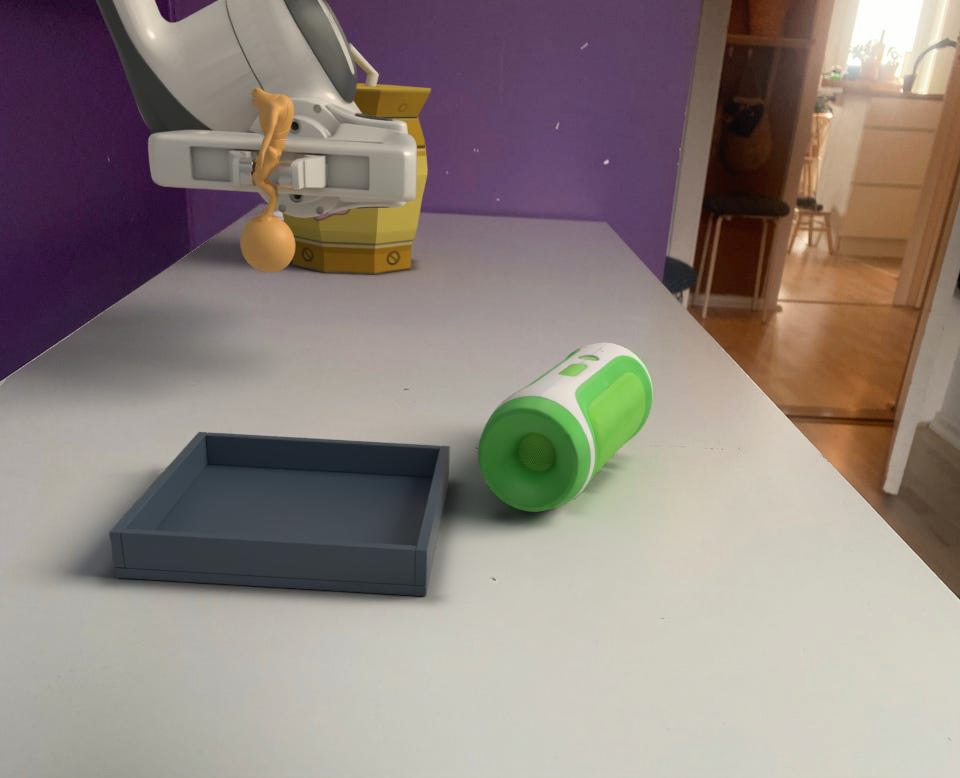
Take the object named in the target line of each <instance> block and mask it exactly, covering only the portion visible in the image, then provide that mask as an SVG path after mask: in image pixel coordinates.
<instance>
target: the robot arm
mask: <svg viewBox="0 0 960 778" xmlns="http://www.w3.org/2000/svg"><path fill="white" fill-rule="evenodd" d="M95 2H96V5H97V6H98V9H99V11H100V13H101V16H102V18H103V20H104V22H105V25H106V27H107V29H108V31H109V34H110V36H111V38H112V41H113V43H114V47H115V48H116V50H117V54H118V56H119V58H120V59H119V60H120V62H121V65H122V67H123V70H124V73H125V77H126V79H127V82H128V86H129V88H130V91H131V93H132V96H133V99H134V100H135V104H136V106H137V108H138V111H139V113H140V115H141V118H142V120H143V121H144V123H145V126H147V128H148V130H149V131H150V133H151V134H150V135H149V137H148V142H147V151H148V162H149V163H148V164H149V170H150V176H151V180H152V181H153V183H154V184H156V185H158V186H160V187H165V188H177V189H178V188H180V189H194V190H213V191H229V192H231V191H232V192H247V193H258V194H259V195H260V196H261V198H262V199H263V200H264V201H265V202H266V203H267V204H268V203H269V200H270V196H269V195H267V194H266V193H264V192H263V191H262V190H261V189H260V188H259V187H258V186H257V185H256V184H255V183H254V181H253V178H252V175H253V173H254V171H255V170H256V169H255V165H256V162H257V161H256V162H255V159H256V157H257V156H258V155H259V152H260V149H261V144H262V141H263V138H264V134H263V132H262V129H261V127H260V123H259V109H258V108H257V107H256V106H254V105H253V104H252V102H251V100H252V99H256V97H255V98H254V97H253V96H252V95H251V93H252V91H253V89H254V88H260V89H262V90H264V91H265V92H267V93H270V94H280V95H281V94H284V95H286V96H288V97H289V98H290V99H291V101H292V102H293V105H294V117H293V121H292V124H291V128H290V131H289V133H288V135H287V137H286V138H285V139H286V141H285V148H284V150H283V151H282V153H281V156H280V159H279V162H278V166H277V167H276V168H275V169H274V170H273V172H272V173H271V175H270V176H269V177H268V178H267V181H270V182H273V183H275V184H276V186H277V188H278V194H279V198H278V202H277V204H276V207H275V210H276V211H279V212H280V213H284V214H287V215H290V216H294V217H300V218H309V217H315V216H319V215H322V214H324V213H326V212H328V213H335V212H339V211H343V210H347V209H352V208H357V209H360V208H390V207H401V206H403V205H405V204H406V202H411V201H414V200H415V198H416V180H417V145H416V142H415V139H414V138H413V137H412V136H411V135H409V134H408V129H407V124H406V123H405V122H404V121H400V120H392V119H391V118H383V117H376V116H370V115H365V114H362V113H361V111H360V110H359V108H358V107H357V105H356V104H355V102H354V101H353V100H354V97H355V93H356V88H357V83H358V76H359V75H358V73H359V72H358V67H357V63H356V62H355V61H354V58H353V55H352V52H351V49H350V46H349V43H350V42H348V39H347V36H346V34H345V32H344V30H343V28H342V26H341V24H340V22H339V20H338V18H337V16H336V14H335V12H334V11H333V9H332V7H331V6H330V5H329V3H328V2H327V0H216V1H214V2H212V3H210V4H209V5H206V6H205V7H203V8H201V9H199V10H197V11H196V12H194V13H192V14H190V15H188V16H187V17H184V18H183V19H181V20H179V21H176V22H170V21H168V20H167V19H165V18H164V17H163V16H162V15H161V12H160V10H159V7H158V5H157V3H156V0H95ZM256 168H257V167H256Z"/></svg>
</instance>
